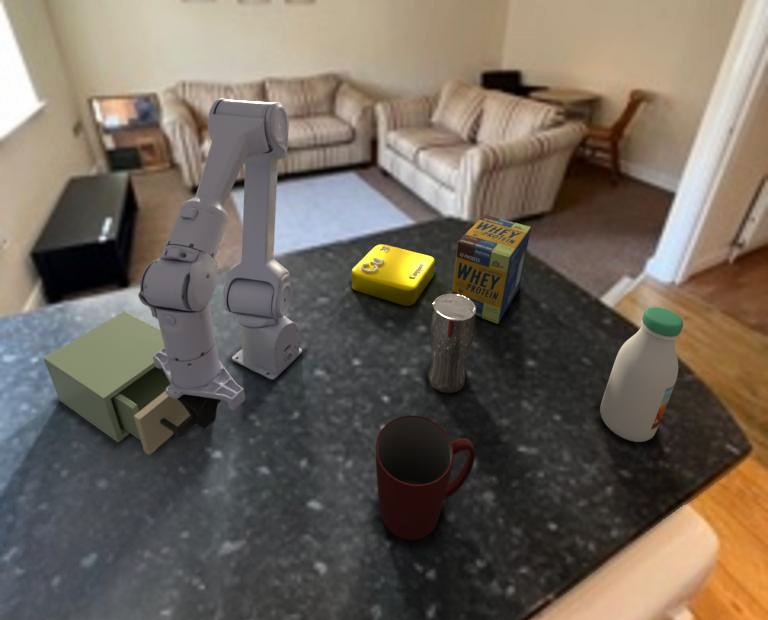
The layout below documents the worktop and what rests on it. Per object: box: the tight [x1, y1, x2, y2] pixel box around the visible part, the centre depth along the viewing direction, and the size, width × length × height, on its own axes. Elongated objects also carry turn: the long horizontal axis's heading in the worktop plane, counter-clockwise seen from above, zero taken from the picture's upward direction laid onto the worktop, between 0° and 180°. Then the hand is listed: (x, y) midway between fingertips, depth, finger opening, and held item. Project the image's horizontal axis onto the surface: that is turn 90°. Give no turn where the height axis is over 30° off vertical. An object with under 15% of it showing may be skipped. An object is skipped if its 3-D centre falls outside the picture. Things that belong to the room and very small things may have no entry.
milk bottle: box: [599, 306, 684, 443], centre depth 64 cm, size 8×8×20 cm
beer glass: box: [427, 293, 477, 394], centre depth 72 cm, size 7×7×15 cm
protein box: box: [451, 214, 532, 325], centre depth 93 cm, size 10×15×16 cm
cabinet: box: [42, 311, 164, 443], centre depth 69 cm, size 15×13×9 cm
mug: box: [375, 415, 476, 541], centre depth 54 cm, size 12×9×11 cm
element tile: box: [351, 243, 436, 307], centre depth 100 cm, size 15×15×5 cm
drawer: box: [111, 367, 222, 456], centre depth 65 cm, size 18×11×7 cm, turn 61°
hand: (206, 421), depth 61 cm, fingers closed
